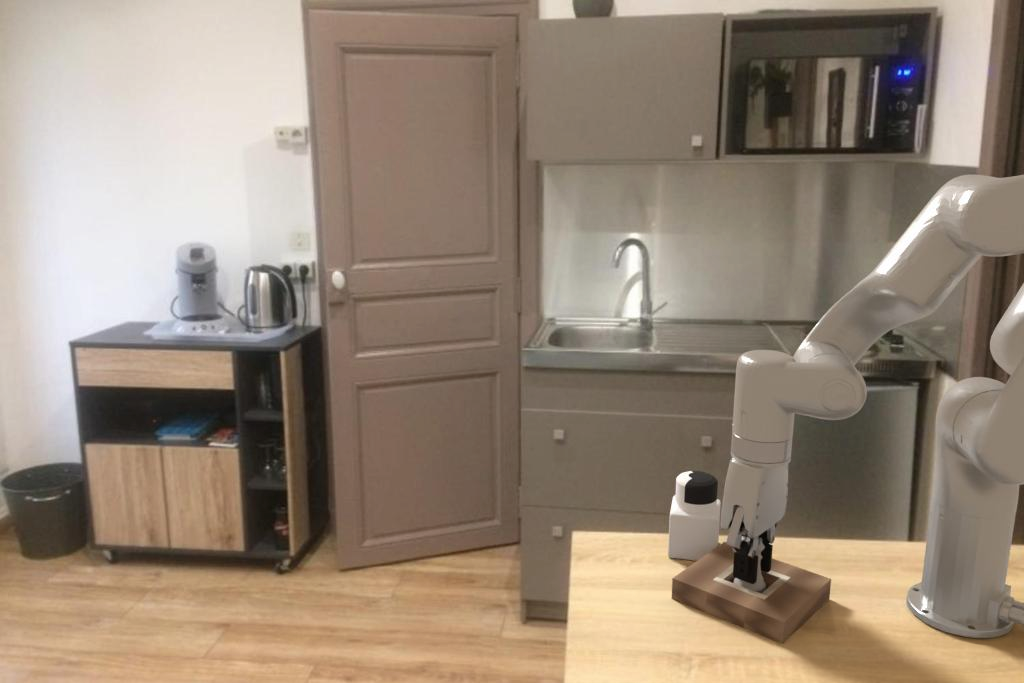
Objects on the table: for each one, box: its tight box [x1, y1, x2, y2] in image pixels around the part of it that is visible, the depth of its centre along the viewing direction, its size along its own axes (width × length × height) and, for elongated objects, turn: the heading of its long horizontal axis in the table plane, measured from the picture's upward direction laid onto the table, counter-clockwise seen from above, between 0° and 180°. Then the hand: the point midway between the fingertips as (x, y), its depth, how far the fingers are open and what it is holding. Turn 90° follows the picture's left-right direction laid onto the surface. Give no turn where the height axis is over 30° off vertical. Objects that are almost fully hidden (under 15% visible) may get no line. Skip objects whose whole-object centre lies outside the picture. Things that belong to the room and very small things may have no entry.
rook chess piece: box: [733, 536, 766, 593], centre depth 118 cm, size 4×4×8 cm
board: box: [671, 541, 832, 645], centre depth 119 cm, size 16×14×3 cm
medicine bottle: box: [667, 470, 722, 562], centre depth 131 cm, size 7×7×12 cm
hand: (751, 573), depth 118 cm, fingers closed on rook chess piece, 3 cm apart
